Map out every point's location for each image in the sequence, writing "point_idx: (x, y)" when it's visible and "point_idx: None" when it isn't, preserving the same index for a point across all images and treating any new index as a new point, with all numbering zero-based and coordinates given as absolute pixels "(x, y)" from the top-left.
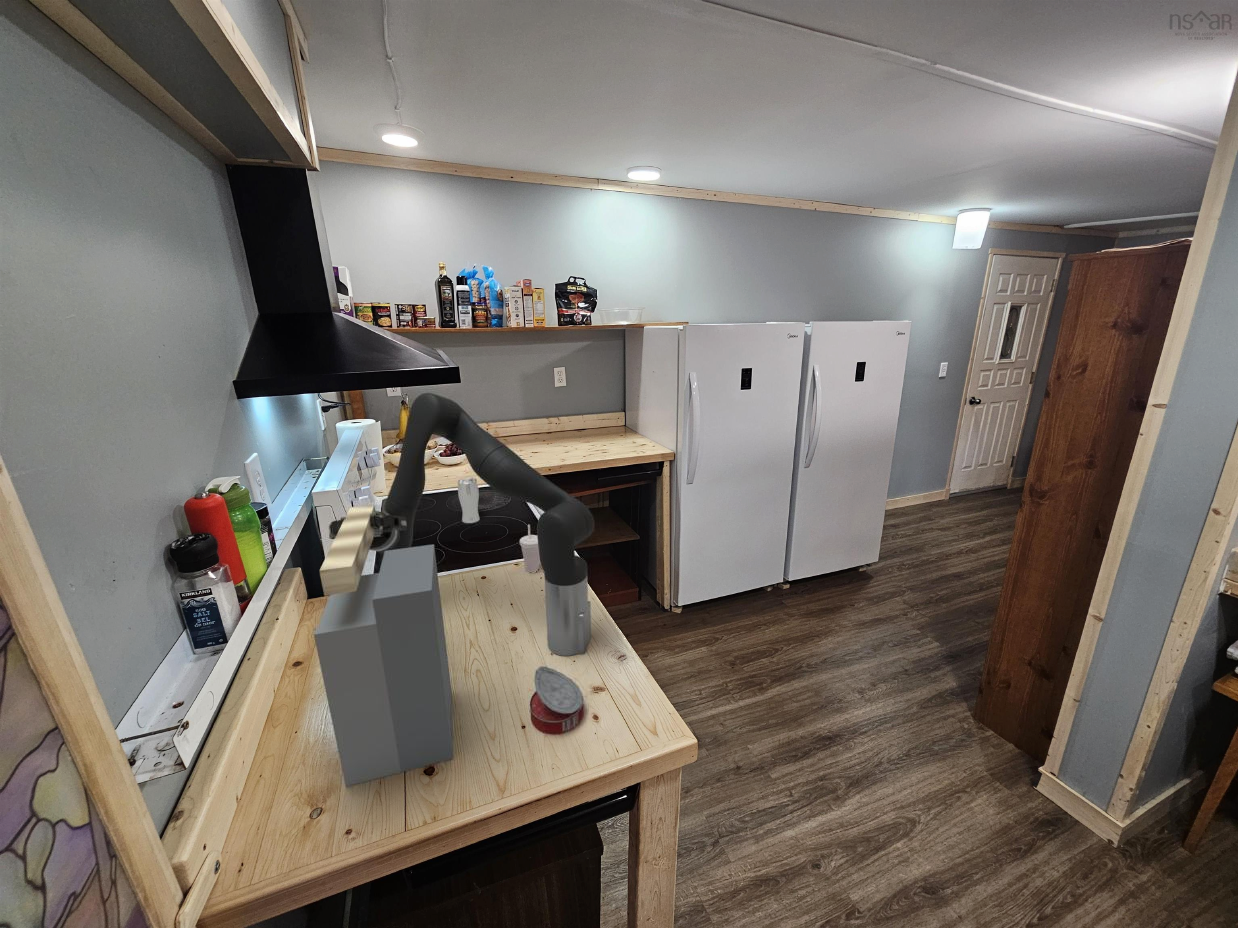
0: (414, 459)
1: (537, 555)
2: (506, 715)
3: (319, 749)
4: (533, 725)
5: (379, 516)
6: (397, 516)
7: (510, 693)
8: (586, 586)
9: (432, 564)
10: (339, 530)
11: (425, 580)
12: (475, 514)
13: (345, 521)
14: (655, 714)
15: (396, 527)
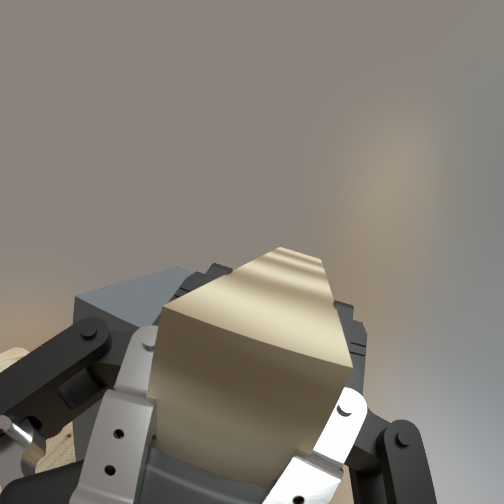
0: None
1: None
2: (68, 455)
3: None
4: (61, 429)
5: (185, 280)
6: (40, 350)
7: (40, 468)
8: None
9: (136, 278)
10: (326, 282)
11: (171, 273)
12: None
13: (324, 294)
14: (3, 359)
15: (78, 375)
